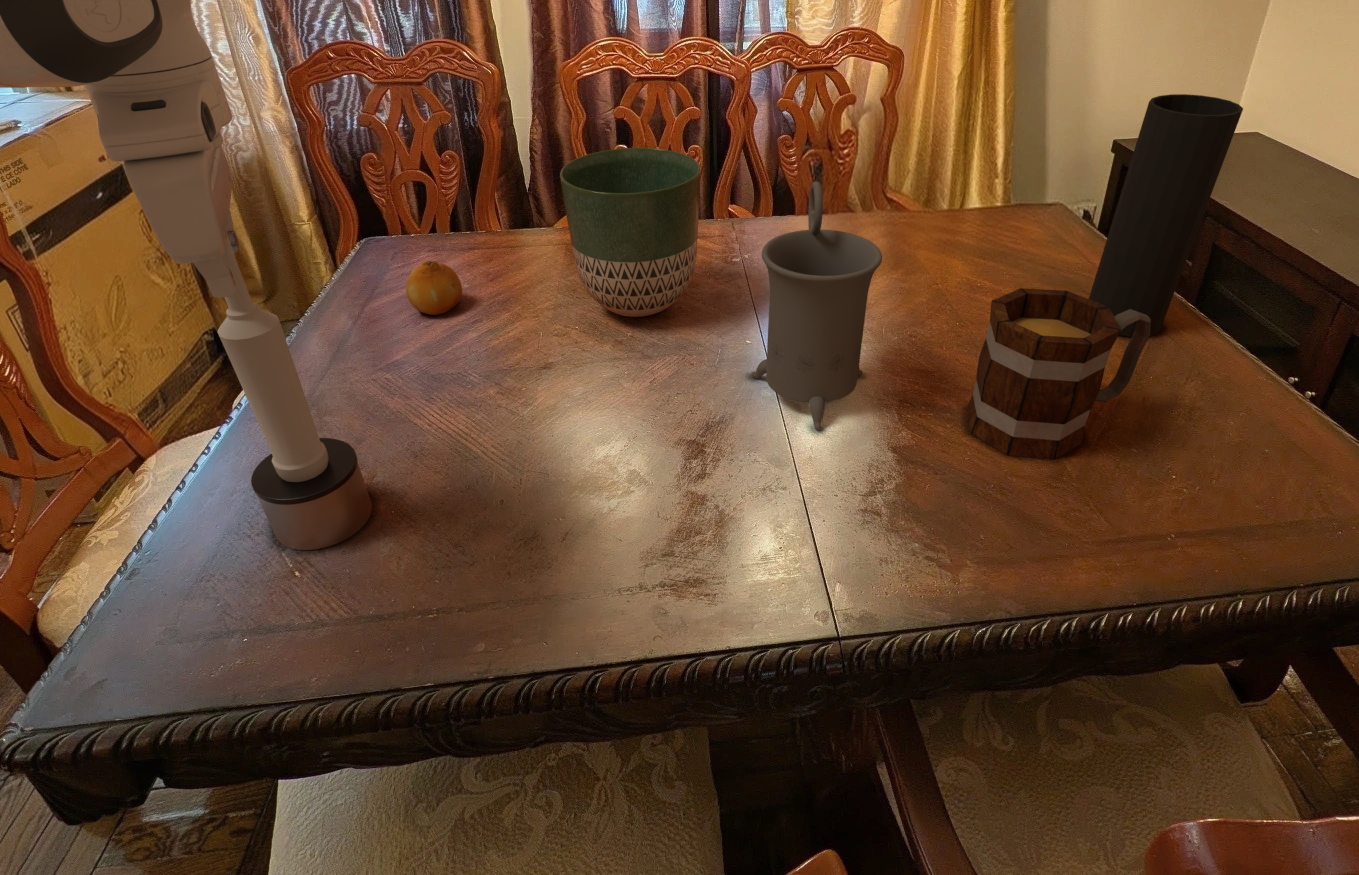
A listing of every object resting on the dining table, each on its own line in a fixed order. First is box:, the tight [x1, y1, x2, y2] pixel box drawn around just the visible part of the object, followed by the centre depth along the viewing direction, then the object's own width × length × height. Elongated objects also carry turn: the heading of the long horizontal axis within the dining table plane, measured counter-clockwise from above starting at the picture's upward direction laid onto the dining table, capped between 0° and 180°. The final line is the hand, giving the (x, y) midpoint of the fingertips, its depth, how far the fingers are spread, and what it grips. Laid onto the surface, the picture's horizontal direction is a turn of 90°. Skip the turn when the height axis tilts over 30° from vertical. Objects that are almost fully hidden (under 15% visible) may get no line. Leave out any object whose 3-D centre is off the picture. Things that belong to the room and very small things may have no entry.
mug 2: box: [750, 180, 883, 431], centre depth 97 cm, size 19×15×25 cm
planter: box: [559, 147, 701, 318], centre depth 118 cm, size 20×20×21 cm
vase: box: [1088, 93, 1244, 338], centre depth 108 cm, size 10×10×30 cm
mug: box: [966, 287, 1151, 460], centre depth 93 cm, size 20×14×15 cm
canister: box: [250, 437, 373, 551], centre depth 84 cm, size 10×10×7 cm
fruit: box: [405, 260, 463, 316], centre depth 124 cm, size 8×8×8 cm
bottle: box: [217, 236, 328, 482], centre depth 75 cm, size 5×5×25 cm
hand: (227, 271), depth 69 cm, fingers open, 8 cm apart
